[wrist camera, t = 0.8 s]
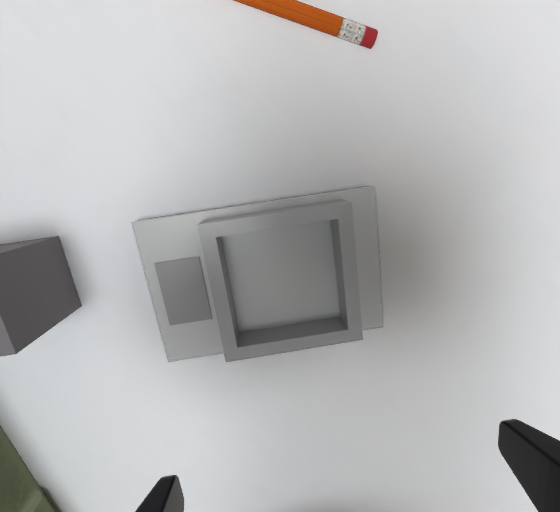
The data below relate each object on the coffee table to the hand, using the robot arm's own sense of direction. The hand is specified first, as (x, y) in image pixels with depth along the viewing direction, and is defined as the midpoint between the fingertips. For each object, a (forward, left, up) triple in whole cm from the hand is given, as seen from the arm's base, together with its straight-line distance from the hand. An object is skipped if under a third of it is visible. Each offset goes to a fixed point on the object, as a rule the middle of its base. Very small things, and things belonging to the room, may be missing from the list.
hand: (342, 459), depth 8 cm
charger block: (+4, +16, -12) cm, 20 cm away
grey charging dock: (+2, +2, -12) cm, 12 cm away
